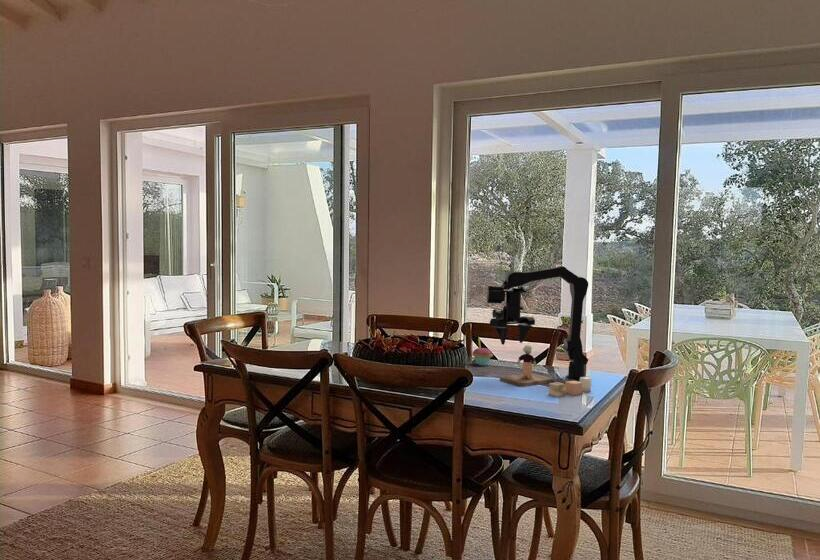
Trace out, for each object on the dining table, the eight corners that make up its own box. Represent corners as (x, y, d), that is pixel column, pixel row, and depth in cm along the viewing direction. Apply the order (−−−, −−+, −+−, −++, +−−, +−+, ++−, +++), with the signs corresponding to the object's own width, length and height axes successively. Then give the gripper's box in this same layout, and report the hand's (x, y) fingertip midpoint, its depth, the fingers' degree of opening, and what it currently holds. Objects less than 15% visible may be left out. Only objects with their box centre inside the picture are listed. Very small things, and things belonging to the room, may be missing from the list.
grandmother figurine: (537, 378, 248) (538, 345, 247) (535, 380, 245) (536, 346, 244) (518, 375, 251) (519, 343, 251) (515, 377, 248) (516, 344, 247)
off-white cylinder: (584, 388, 238) (585, 376, 238) (593, 390, 235) (593, 378, 234) (577, 389, 236) (577, 377, 236) (585, 392, 233) (585, 379, 232)
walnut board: (531, 375, 257) (531, 372, 257) (553, 382, 247) (553, 378, 247) (500, 380, 249) (500, 376, 249) (521, 386, 239) (521, 383, 239)
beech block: (557, 393, 231) (557, 381, 230) (565, 395, 227) (565, 384, 227) (548, 394, 228) (549, 383, 228) (557, 396, 225) (557, 385, 225)
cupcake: (471, 365, 275) (472, 337, 274) (473, 361, 283) (473, 334, 283) (492, 366, 274) (492, 338, 273) (492, 363, 282) (493, 335, 281)
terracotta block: (573, 391, 233) (573, 380, 233) (581, 393, 230) (582, 382, 230) (565, 392, 231) (565, 381, 231) (573, 395, 228) (573, 384, 228)
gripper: (517, 301, 265) (516, 339, 267) (481, 302, 255) (480, 342, 257) (536, 303, 256) (535, 343, 257) (499, 305, 246) (498, 346, 247)
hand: (511, 343), depth 255 cm, fingers open, 9 cm apart
